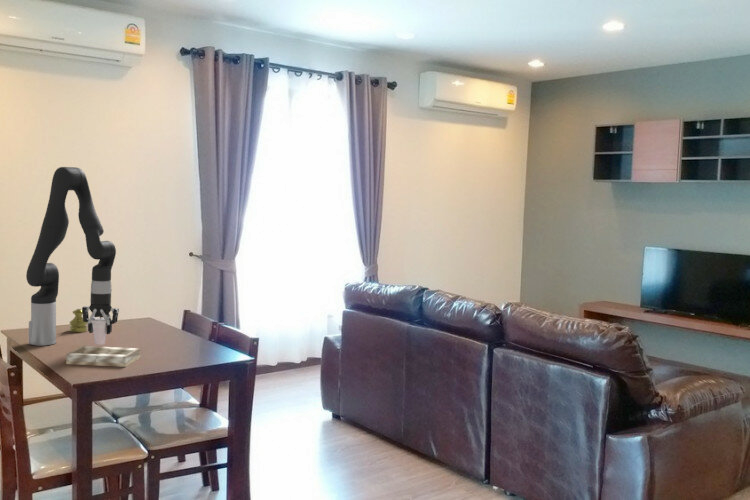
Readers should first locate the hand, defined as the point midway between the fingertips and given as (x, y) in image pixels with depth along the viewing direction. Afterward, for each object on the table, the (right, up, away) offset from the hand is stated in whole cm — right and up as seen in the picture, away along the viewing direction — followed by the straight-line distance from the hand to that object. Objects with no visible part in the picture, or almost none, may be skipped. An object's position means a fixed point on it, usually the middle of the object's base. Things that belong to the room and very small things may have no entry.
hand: (99, 333), depth 267 cm
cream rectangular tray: (+7, -9, -13) cm, 17 cm away
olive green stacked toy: (-25, -4, +38) cm, 45 cm away
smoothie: (0, -4, 0) cm, 4 cm away
